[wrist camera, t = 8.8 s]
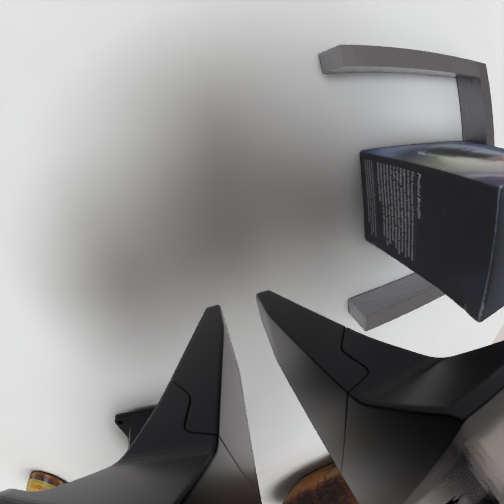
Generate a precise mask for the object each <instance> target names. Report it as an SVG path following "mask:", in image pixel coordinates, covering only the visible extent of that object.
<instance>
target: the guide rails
mask: <svg viewBox="0 0 504 504" xmlns="http://www.w3.org/2000/svg"><path fill="white" fill-rule="evenodd" d="M319 58H320V62H321V67H322V72H323V73H339V72H396V73H415V74H428V75H438V76H447V77H455V78H456V79H457V85H458V92H459V99H460V108H461V118H462V130H463V141H466V142H473V143H478V144H484V145H489V146H494V127H493V114H492V104H491V95H490V87H489V81H488V74H487V68H486V64H484V63H480V62H476V61H472V60H468V59H463V58H459V57H454V56H449V55H443V54H438V53H432V52H425V51H419V50H411V49H402V48H393V47H381V46H364V45H338V46H336V47H334V48H331V49H329V50H327V51H324V52H322V53H320V54H319ZM443 295H445V294H444V293H443V292H441V291H440V290H439V289H438V288H437V287H435V286H433V285H432V284H431V283H429V282H427V281H426V280H425V279H423V278H422V277H421V276H419V275H418V274H416V273H414V274H412V275H409V276H407V277H404V278H402V279H399V280H397V281H394V282H392V283H389V284H387V285H384V286H382V287H379V288H377V289H374V290H371V291H369V292H366V293H364V294H361V295H358V296H356V297H353V298H350V299H348V301H349V313H350V314H351V315H352V317H353V318H354V319H355V320H356V321H357V322H358V324H359V325H360V326H361V327H362V328H363V329H364V331H365V332H366V331H368V330H370V329H373V328H375V327H377V326H380V325H382V324H384V323H387V322H389V321H391V320H393V319H396V318H398V317H400V316H402V315H404V314H406V313H409V312H411V311H413V310H415V309H417V308H419V307H421V306H423V305H425V304H427V303H429V302H431V301H433V300H435V299H437V298H439V297H441V296H443Z"/></svg>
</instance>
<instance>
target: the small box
mask: <svg viewBox="0 0 504 504" xmlns="http://www.w3.org/2000/svg"><path fill="white" fill-rule="evenodd" d="M360 161H361V173H362V186H363V202H364V219H365V239H366V241H368V242H369V243H371V244H373V245H375V246H376V247H377V248H379V249H381V250H382V251H384V252H386V253H387V254H389V255H390V256H391V257H393V258H395V259H397V260H398V261H399V262H400V263H402V264H403V265H405V266H406V267H408V268H409V269H411V270H412V271H414V272H415V273H416V274H418V275H419V276H421V277H422V278H423V279H425V280H426V281H427V282H429V283H431V284H432V285H433V286H435V287H437V288H438V289H439V290H440V291H441V292H443V293H444V294H446V295H447V296H448V297H449V298H451V299H452V300H454V302H455V303H457V304H458V305H459V306H460V307H462V308H463V309H464V310H465V311H466V312H467V313H468V314H469V315H470V316H471V317H472V318H473V319H475V320H476V321H477V322H482V321H483V320H485V319H486V318H488V317H489V316H491V315H492V314H494V313H495V312H496V311H498V310H499V309H500V308H502V307H503V306H504V149H503V148H498V147H494V146H489V145H484V144H478V143H473V142H466V141H452V142H437V143H424V144H412V145H403V146H394V147H384V148H376V149H369V150H363V151H361V152H360Z"/></svg>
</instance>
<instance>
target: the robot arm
mask: <svg viewBox="0 0 504 504" xmlns="http://www.w3.org/2000/svg"><path fill="white" fill-rule="evenodd" d="M256 299H257V303H258V307H259V312H260V316H261V319H262V322H263V325H264V328H265V331H266V333H267V336H268V339H269V341H270V344H271V347H272V349H273V352H274V355H275V357H276V359H277V362H278V364H279V366H280V367H281V369H282V371H283V373H284V375H285V377H286V378H287V380H288V382H289V384H290V386H291V387H292V389H293V391H294V393H295V395H296V396H297V398H298V400H299V402H300V403H301V405H302V407H303V409H304V410H305V412H306V414H307V416H308V418H309V419H310V421H311V423H312V425H313V426H314V428H315V430H316V431H317V433H318V435H319V437H320V438H321V440H322V442H323V444H324V445H325V447H326V449H327V450H328V452H329V454H330V456H331V457H332V459H333V461H334V462H335V464H336V466H337V467H338V469H339V471H340V472H341V473H342V476H343V478H344V479H345V481H346V483H347V484H348V486H349V488H350V489H351V491H352V493H353V494H354V496H355V497H356V499H357V501H358V502H359V504H504V341H501V342H498V343H495V344H492V345H489V346H486V347H482V348H479V349H476V350H473V351H469V352H466V353H462V354H459V355H455V356H451V357H445V358H435V357H429V356H425V355H422V354H419V353H415V352H412V351H409V350H406V349H403V348H399V347H396V346H393V345H390V344H387V343H384V342H381V341H378V340H376V339H373V338H370V337H368V336H365V335H363V334H361V333H358V332H356V331H354V330H352V329H350V328H346V327H345V326H343V325H341V324H339V323H336V322H334V321H332V320H330V319H328V318H326V317H324V316H322V315H319V314H317V313H315V312H313V311H311V310H309V309H307V308H305V307H303V306H301V305H298V304H296V303H294V302H292V301H290V300H288V299H286V298H284V297H282V296H280V295H278V294H276V293H274V292H272V291H269V290H267V291H264V292H260V293H258V294H256ZM115 423H116V424H117V425H118V427H119V428H120V429H121V430H122V431H123V432H124V433H125V434H126V435H127V437H128V438H129V449H128V450H127V452H126V453H125V454H124V456H123V457H122V458H121V459H120V460H119V461H118V462H116V463H115V464H114V465H112V466H110V467H108V468H106V469H103V470H101V471H98V472H96V473H93V474H91V475H88V476H86V477H83V478H80V479H77V480H75V481H72V482H69V483H66V484H63V485H60V486H57V487H54V488H50V489H47V490H41V491H23V490H17V489H7V490H5V491H2V492H0V504H262V502H261V496H260V491H259V486H258V480H257V474H256V469H255V463H254V457H253V451H252V445H251V439H250V433H249V427H248V421H247V415H246V409H245V402H244V396H243V389H242V383H241V377H240V371H239V367H238V364H237V360H236V357H235V353H234V350H233V347H232V343H231V340H230V336H229V333H228V329H227V326H226V323H225V320H224V317H223V313H222V310H221V307H220V306H219V305H215V306H212V307H208V308H206V310H205V312H204V314H203V316H202V318H201V320H200V322H199V324H198V326H197V328H196V330H195V332H194V334H193V336H192V338H191V340H190V342H189V344H188V346H187V348H186V350H185V352H184V354H183V356H182V358H181V360H180V362H179V364H178V366H177V368H176V370H175V372H174V374H173V376H172V378H171V381H170V382H169V384H168V386H167V388H166V390H165V392H164V393H163V395H162V397H161V399H160V401H159V403H158V405H157V406H156V408H155V409H154V410H148V411H143V412H136V413H130V414H124V415H117V416H115Z"/></svg>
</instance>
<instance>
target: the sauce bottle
mask: <svg viewBox="0 0 504 504" xmlns="http://www.w3.org/2000/svg"><path fill="white" fill-rule="evenodd" d="M63 484H66V483H65V482H63V481H62V480H60V479H58V478H56V477H54V476H52V475H48V474H46V473H43V472H39V471H36V472H33V473H31V474H30V478H29V480H28V484H27V488H26V491H41V490H47V489H50V488H54V487H57V486H60V485H63Z"/></svg>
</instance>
